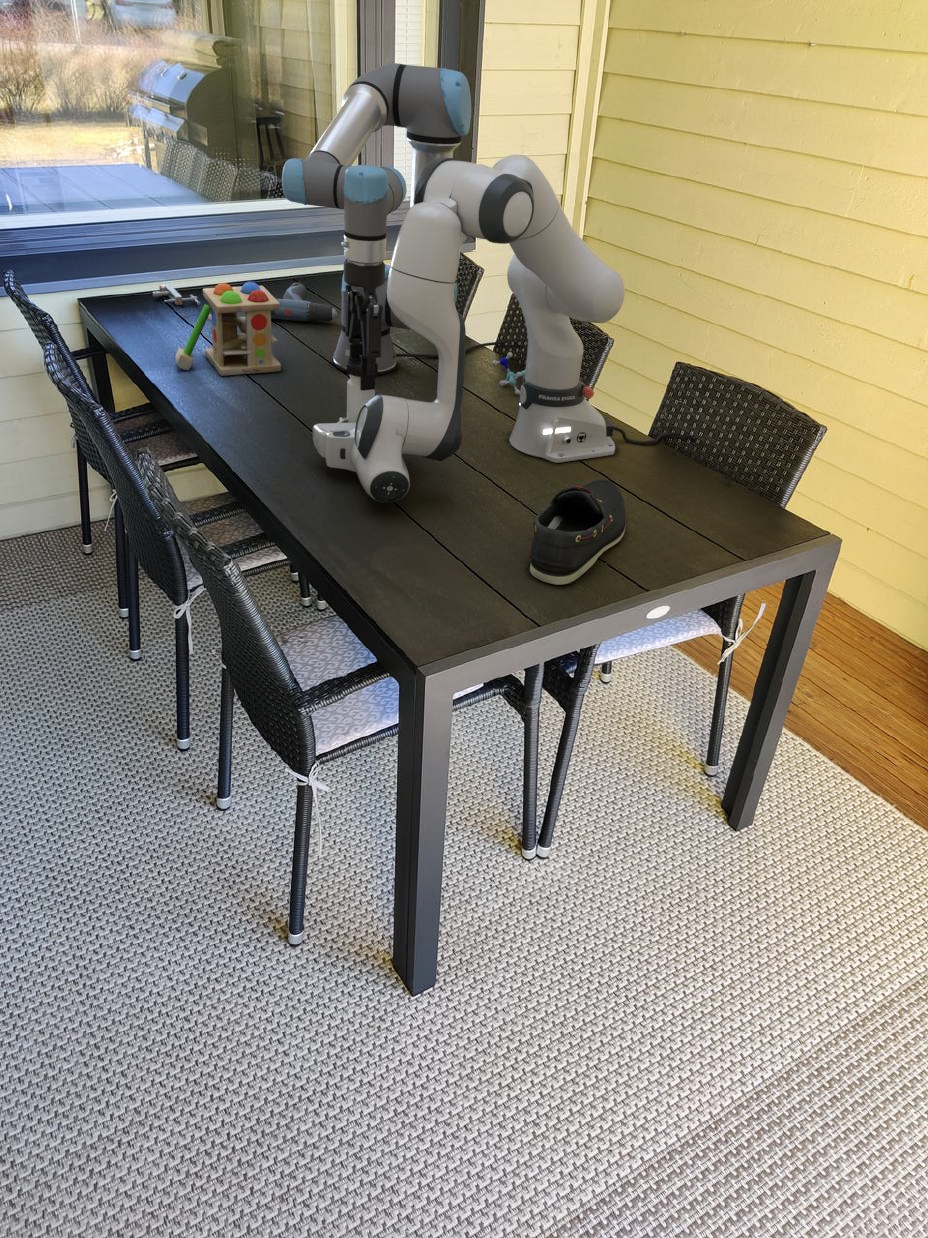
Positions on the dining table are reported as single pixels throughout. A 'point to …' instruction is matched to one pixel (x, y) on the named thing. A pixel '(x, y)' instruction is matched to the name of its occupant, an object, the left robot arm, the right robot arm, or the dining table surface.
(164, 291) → the clamp
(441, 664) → the dining table surface
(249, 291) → the pounding bench toy
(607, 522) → the boat shoe
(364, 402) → the jar
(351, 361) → the lid
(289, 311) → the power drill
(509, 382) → the molecular model
